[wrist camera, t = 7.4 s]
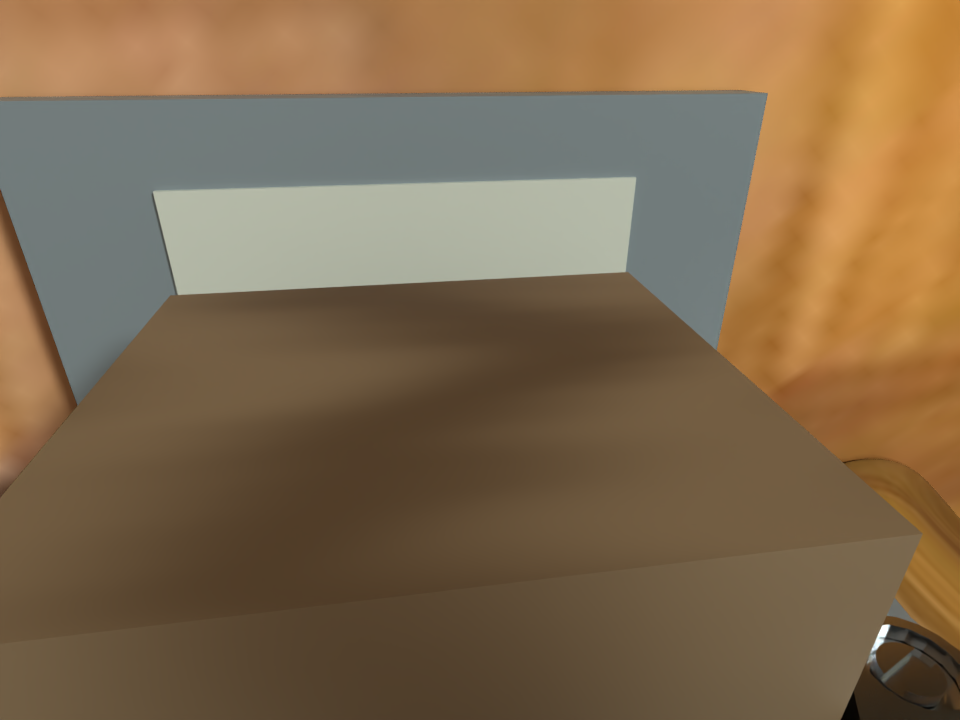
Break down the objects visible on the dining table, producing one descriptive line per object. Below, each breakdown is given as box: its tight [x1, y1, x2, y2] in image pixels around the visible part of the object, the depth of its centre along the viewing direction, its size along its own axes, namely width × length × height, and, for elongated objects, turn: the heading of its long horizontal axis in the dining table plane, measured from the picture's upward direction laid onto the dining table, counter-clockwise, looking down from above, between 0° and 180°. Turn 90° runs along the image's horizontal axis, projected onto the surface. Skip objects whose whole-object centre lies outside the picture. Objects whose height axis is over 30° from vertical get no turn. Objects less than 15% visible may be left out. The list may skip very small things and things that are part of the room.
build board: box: [0, 90, 768, 405], centre depth 14 cm, size 14×12×1 cm
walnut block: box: [0, 272, 923, 720], centre depth 8 cm, size 7×7×6 cm
